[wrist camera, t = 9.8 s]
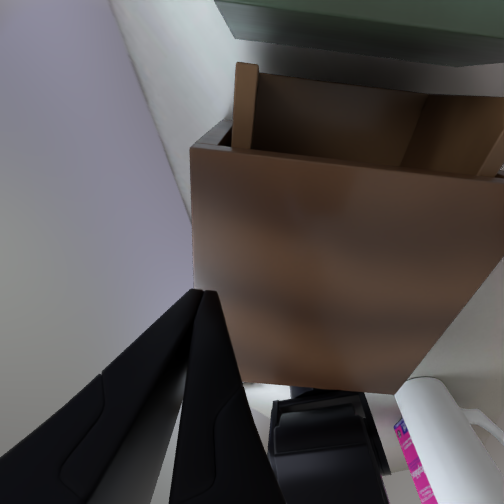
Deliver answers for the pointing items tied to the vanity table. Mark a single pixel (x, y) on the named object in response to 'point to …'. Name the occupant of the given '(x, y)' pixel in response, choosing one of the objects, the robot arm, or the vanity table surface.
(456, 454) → the mug
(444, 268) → the cabinet
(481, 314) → the vanity table surface
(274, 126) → the drawer
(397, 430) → the supplement box
